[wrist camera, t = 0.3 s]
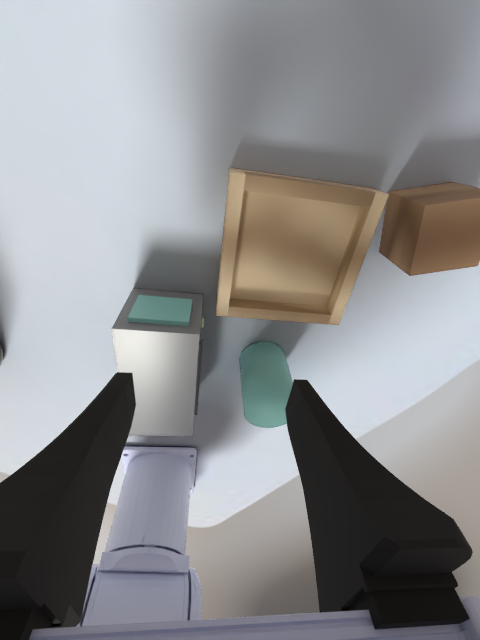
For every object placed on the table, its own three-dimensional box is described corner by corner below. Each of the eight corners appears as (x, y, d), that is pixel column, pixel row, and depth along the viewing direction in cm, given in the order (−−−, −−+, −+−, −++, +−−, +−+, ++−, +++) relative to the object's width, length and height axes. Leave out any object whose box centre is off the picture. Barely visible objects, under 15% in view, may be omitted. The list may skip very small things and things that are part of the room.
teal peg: (279, 376, 27) (292, 428, 22) (236, 374, 26) (240, 427, 22) (289, 342, 24) (305, 392, 20) (242, 339, 24) (248, 389, 19)
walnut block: (435, 243, 20) (477, 266, 17) (378, 251, 20) (409, 275, 17) (451, 181, 18) (503, 194, 15) (387, 191, 18) (425, 205, 15)
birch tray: (329, 310, 23) (338, 325, 21) (216, 301, 22) (215, 315, 20) (373, 188, 18) (389, 194, 16) (229, 167, 17) (230, 172, 15)
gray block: (198, 388, 27) (195, 436, 23) (140, 386, 26) (126, 435, 22) (206, 290, 21) (203, 330, 17) (132, 284, 21) (111, 324, 16)
